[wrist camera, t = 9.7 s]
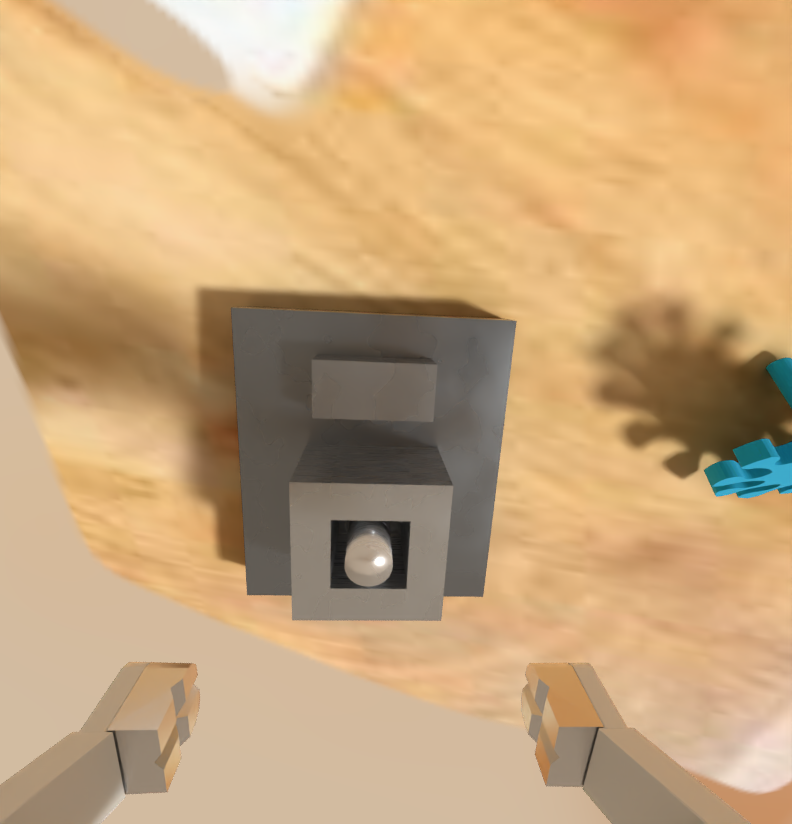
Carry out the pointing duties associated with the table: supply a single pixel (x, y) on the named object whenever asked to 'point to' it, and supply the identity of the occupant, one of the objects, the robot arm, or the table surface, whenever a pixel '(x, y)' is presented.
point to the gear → (758, 455)
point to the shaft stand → (368, 424)
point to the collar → (369, 501)
